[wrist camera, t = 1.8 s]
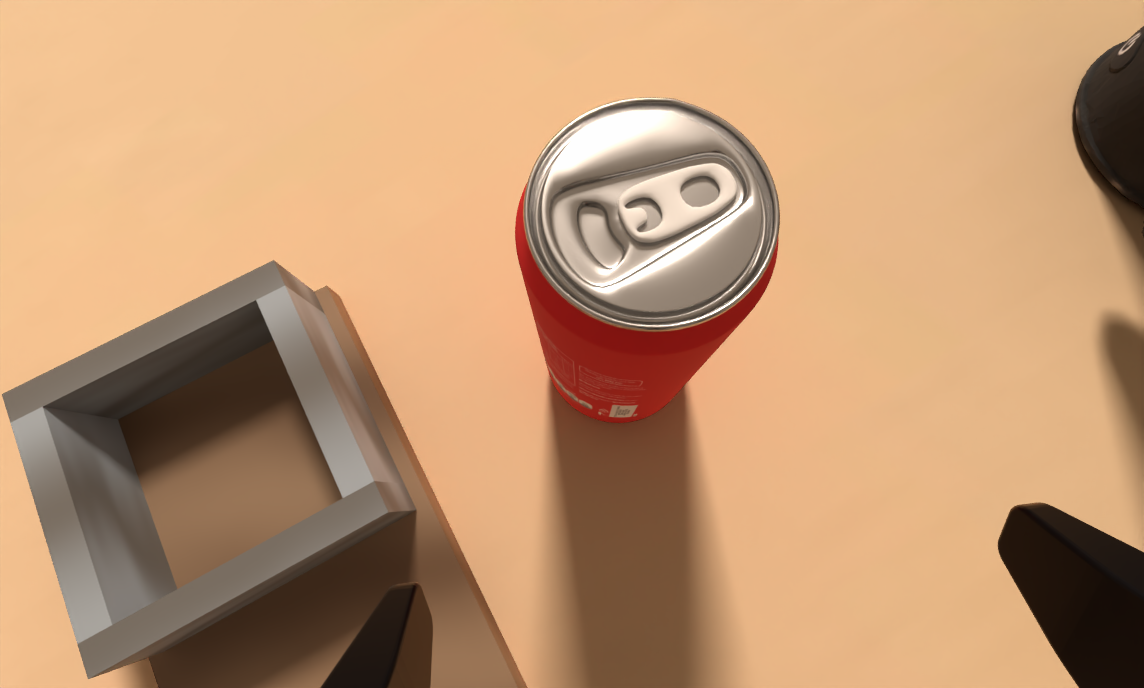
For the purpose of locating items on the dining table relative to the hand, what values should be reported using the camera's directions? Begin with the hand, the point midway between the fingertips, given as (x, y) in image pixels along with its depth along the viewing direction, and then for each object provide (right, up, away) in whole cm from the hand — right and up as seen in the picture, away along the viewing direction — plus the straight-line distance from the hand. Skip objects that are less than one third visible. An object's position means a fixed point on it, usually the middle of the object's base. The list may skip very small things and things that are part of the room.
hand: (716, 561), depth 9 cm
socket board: (-11, -6, +11) cm, 17 cm away
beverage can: (-1, +3, +14) cm, 14 cm away
